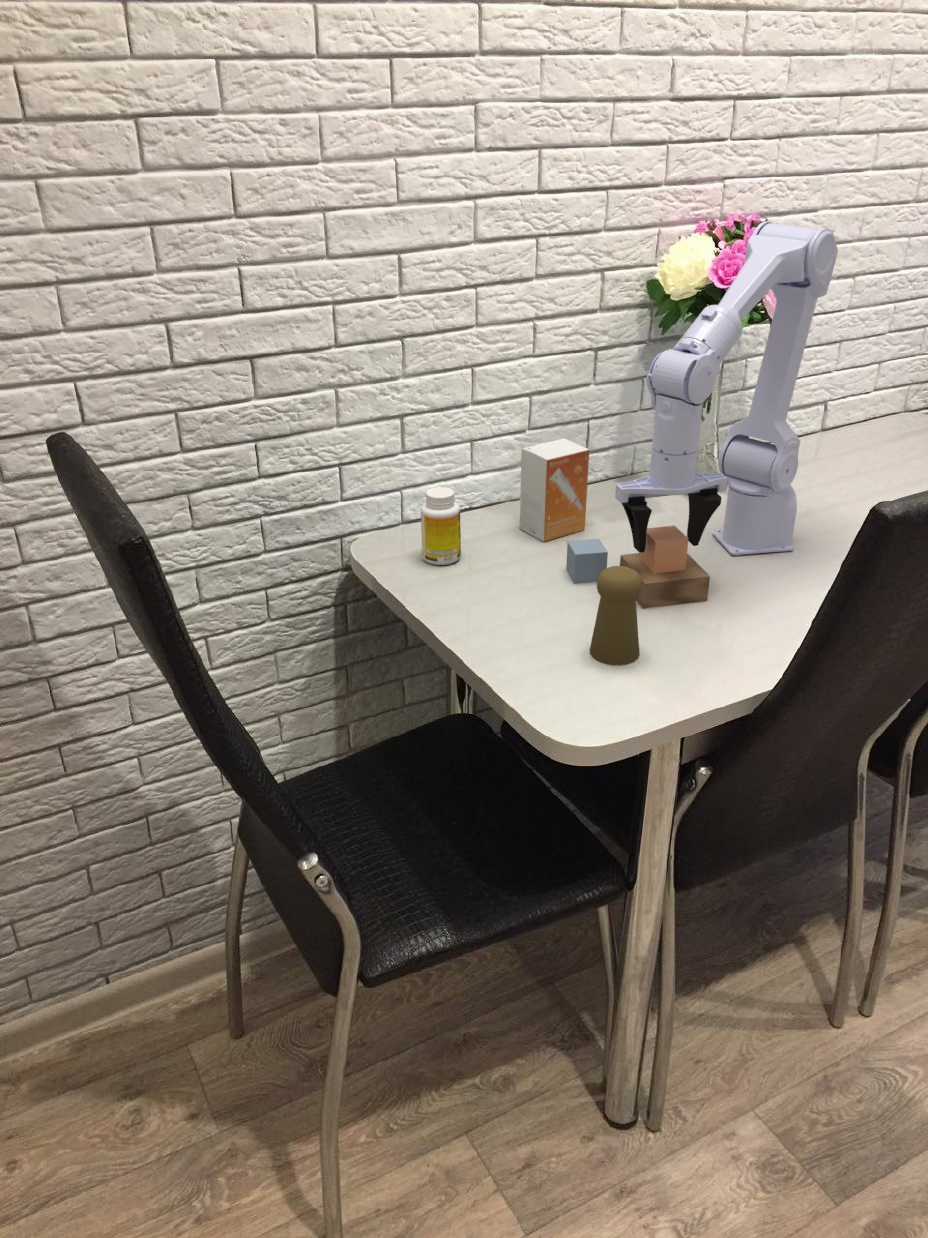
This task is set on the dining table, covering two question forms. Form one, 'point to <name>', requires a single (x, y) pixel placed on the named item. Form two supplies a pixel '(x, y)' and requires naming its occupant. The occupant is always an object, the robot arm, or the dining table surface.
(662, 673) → the dining table surface
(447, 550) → the supplement bottle
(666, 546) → the terracotta cube
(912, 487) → the dining table surface
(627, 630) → the olive game pawn
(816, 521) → the dining table surface
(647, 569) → the walnut block
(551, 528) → the small box
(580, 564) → the slate-blue cube
